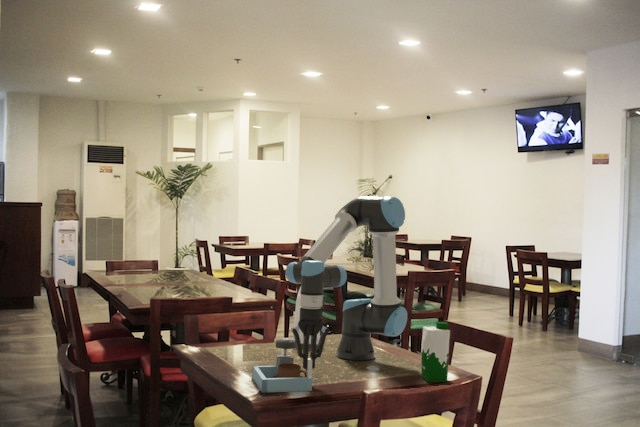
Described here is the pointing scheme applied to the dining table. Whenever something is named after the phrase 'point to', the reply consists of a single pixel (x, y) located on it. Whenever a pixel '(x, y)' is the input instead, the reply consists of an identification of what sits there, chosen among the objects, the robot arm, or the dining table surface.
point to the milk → (297, 317)
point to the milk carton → (435, 352)
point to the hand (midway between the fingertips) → (308, 378)
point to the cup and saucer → (289, 371)
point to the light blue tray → (279, 384)
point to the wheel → (285, 344)
